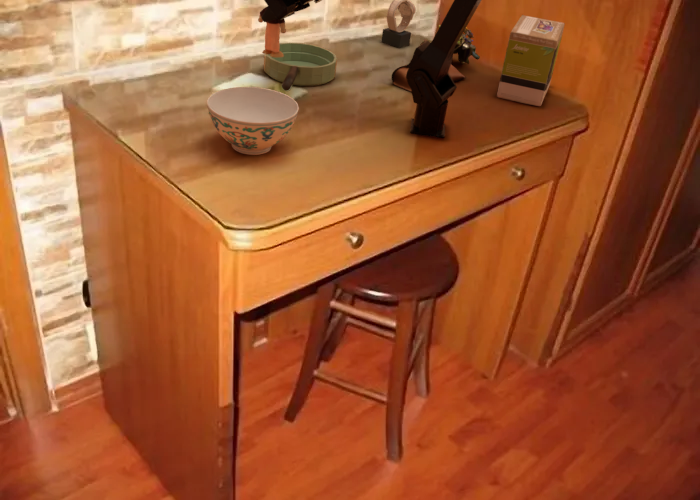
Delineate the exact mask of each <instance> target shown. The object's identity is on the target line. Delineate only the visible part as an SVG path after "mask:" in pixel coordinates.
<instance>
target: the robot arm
mask: <svg viewBox="0 0 700 500" xmlns="http://www.w3.org/2000/svg"><path fill="white" fill-rule="evenodd" d="M263 1H264V2H265V4H266V5H267V6H268V7H267V6H266V7H267V9H266V10H265V12H264V14H263V15H262V17H261V18H262V20H263V23H266V22H268V21H271V20H275V19H279V20H282V19H284V20H285V19H286V18H288V17H291V16H293V15H295V14H296V12H300V11H304V10H306V9H308V8H309V7H311V4H310V3H311V2H314V4H318V3H320V2H322V1H323V0H263ZM481 2H482V0H453V1H452V3H451V5H450V7H449V9H448V10H447V13H446V14H445V16H444V18H443V20H442V22H441V24H440V28H439V27H438V29H437V31H436V33H435V35H434V37H433V38H432V40H431V42H430V41H429V40H427V41H426V42H425V43H423V44H422V45H418V46H417V47H415V49H414V52H413V54H412V57H411V59H410V61H409V63H408V64H405V65H406V68H409V69H408V71H407V74H406V79H407V82H408V85H409V86H410V88H411V90H412V92H411V95H412V101H413V103H414V104H416V105H415V112H414V117H413V118H411V119H410V130H409V133H410V134H411V135H417V136H423V137H432V138H436V139H437V138H438V139H445V137H446V124H445V120H446V116H447V111H448V105H449V100H448V99H449V98H451V97H453V95H454V93H455V91H456V90H457V88H458V86H457V85H456V84H455V82H454V81H453V80H452V78H451V77H450V75H449V74H448V71H449V68H450V65H451V64H452V63H453V57H454V54H453V53H454V49H455V46H456V44H457V43H458V41H459V39H460V37H461V36H462V34H463V33H464V30H465V28H466V27H467V26H468V25H469V23H470V21H471V20H472V18H473V16H474V14H475V12H476V11H477V9H478V7H479V6H480V4H481ZM467 28H468V27H467Z"/></svg>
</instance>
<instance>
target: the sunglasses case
mask: <svg viewBox="0 0 700 500" xmlns="http://www.w3.org/2000/svg"><path fill="white" fill-rule="evenodd" d="M406 65H407V64H405V65H401V66H399V67H397V68H395V69H394V70H393V71H392V74H391V82H392V84H393V85H394V86H395V87H398V88H400V89H402V90H405V91H407V92H411V93H412V90H411V88H410V86H409V85H408V82H407V79H406V74H407V71H408V69H409V68H406ZM448 74H449V75H450V77H451V78H452V80H453V81H454V83H455V82H458V81H460V80H464V79H466V78H467V77H466V76H465V75H463V73H461V72H460V71H459V70H458V69H457V68H456V67H455V66H454V65H452V63H451V65H450V68H449V71H448Z"/></svg>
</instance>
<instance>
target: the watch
mask: <svg viewBox="0 0 700 500" xmlns="http://www.w3.org/2000/svg"><path fill="white" fill-rule="evenodd" d="M397 10H398V12H399V14H400V17H401V21H400V22H399V24H398V25H397V18H396V12H397ZM416 11H417V10H416V7H415V4H414V2H412V1H411V0H392V1H391V2H390V5H389V6H388V9H387V14H386V24H387V27H386V28H383V29H382V33H381V34H382V35H381V43H383V44H386V45H390V46H392V47H395V48H398V49H401V48H403V47H404V48H405V47H408V46H410V44H411V43H410V42H411V36H412V32H411V31H408V30H406V29H408V27H409V25H410V23H411V22H412V20H413V18H414V15H415V13H416Z"/></svg>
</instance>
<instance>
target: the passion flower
mask: <svg viewBox="0 0 700 500" xmlns="http://www.w3.org/2000/svg"><path fill="white" fill-rule="evenodd" d="M440 26H441V24H438V29H439V28H440ZM474 38H475V36H474V33H473V31H471V29H468V27H466V28H465V30H464V32H463V34H462V36H461V37H460V39H459V41H458V43H457V44H456V46H455V49H454V53H453V55H457V61H458V62H459V64H462V65H463V64H467V65H469V64H470V60H469V58H470V57H471V56H472V57H473V58H474V59H475V60H477V61H478V60H480V58H481V56H480V55H479V54H478V53H477V52H476V50H477V47H476V45H474V44H473V43H472V42H474V40H473V39H474ZM426 41H428V39H425V38H424V39H423V41H422V42H420V45H422V44H423V43H425V42H426ZM420 45H419V46H420Z"/></svg>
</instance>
